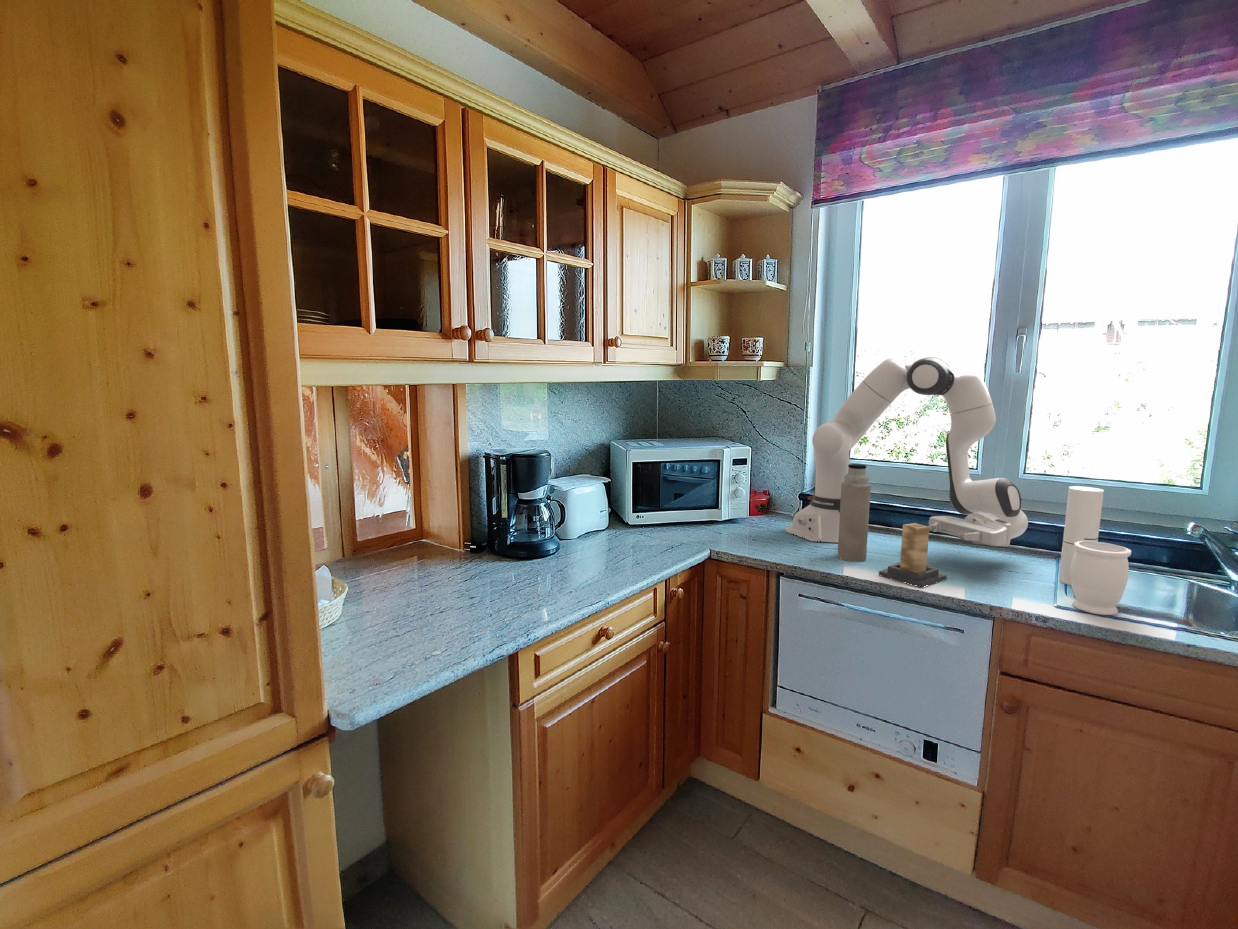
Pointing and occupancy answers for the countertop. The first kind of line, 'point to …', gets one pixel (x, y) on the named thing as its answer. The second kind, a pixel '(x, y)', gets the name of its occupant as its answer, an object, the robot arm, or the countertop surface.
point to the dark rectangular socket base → (913, 575)
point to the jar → (1099, 576)
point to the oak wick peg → (914, 547)
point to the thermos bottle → (854, 514)
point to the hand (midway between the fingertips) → (947, 532)
